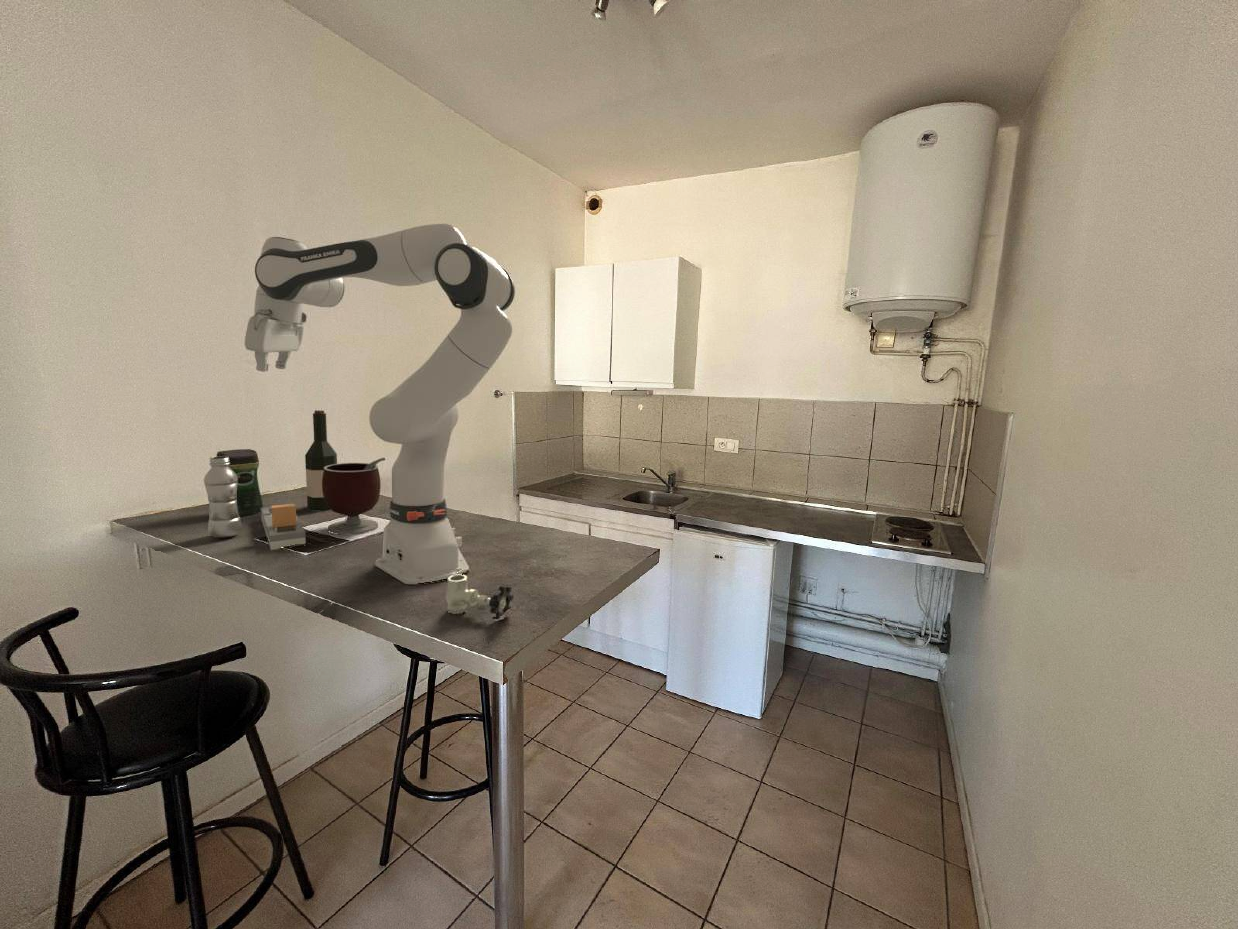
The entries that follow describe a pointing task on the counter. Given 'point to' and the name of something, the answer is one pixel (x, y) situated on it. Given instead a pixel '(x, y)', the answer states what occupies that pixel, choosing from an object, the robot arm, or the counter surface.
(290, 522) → the fader knob
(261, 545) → the counter surface
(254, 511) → the coffee jar
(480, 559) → the counter surface
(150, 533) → the counter surface
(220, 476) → the silver ridged bottle
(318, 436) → the wine bottle
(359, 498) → the mate gourd
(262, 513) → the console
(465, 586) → the valve
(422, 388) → the robot arm
